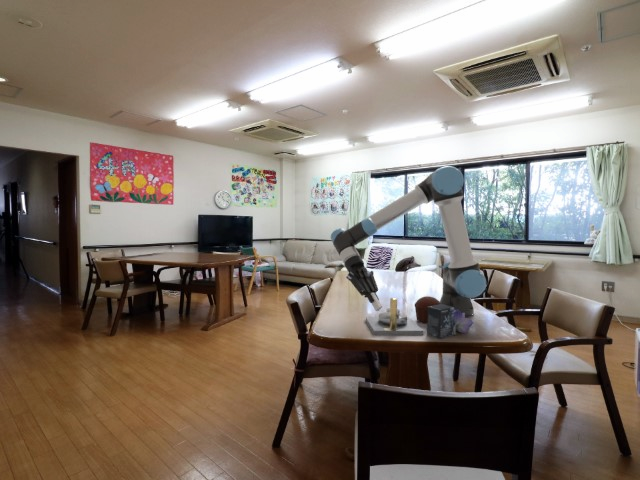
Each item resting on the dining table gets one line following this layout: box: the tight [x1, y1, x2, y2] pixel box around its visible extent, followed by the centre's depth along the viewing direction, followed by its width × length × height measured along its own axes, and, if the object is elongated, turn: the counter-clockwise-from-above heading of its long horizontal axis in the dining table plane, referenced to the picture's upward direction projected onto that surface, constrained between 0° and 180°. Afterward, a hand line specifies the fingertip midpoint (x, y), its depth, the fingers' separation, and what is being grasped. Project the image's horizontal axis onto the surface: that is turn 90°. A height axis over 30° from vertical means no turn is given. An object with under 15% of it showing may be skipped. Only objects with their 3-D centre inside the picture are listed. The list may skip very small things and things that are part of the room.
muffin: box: [414, 295, 441, 325], centre depth 135 cm, size 12×11×10 cm
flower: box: [453, 309, 474, 336], centre depth 121 cm, size 9×9×10 cm
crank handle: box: [377, 297, 408, 330], centre depth 125 cm, size 16×11×11 cm
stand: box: [365, 316, 424, 336], centre depth 127 cm, size 18×17×2 cm
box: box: [426, 304, 454, 340], centre depth 118 cm, size 8×6×11 cm
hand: (379, 309), depth 122 cm, fingers closed
